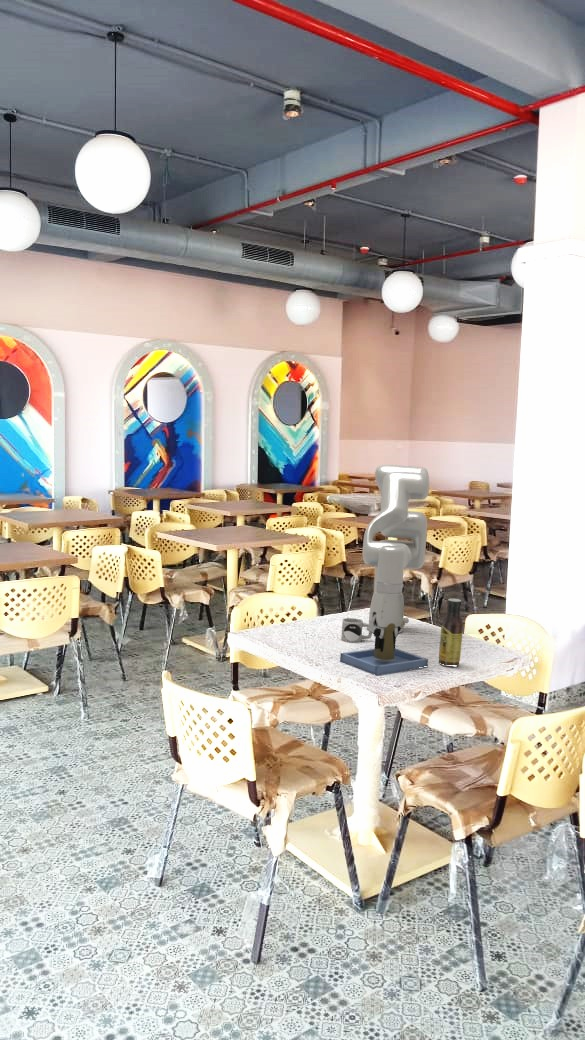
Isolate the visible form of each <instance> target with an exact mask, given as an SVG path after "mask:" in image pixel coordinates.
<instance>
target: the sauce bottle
mask: <svg viewBox="0 0 585 1040" xmlns="http://www.w3.org/2000/svg"><path fill="white" fill-rule="evenodd" d="M446 604H447V610H446V614H445V617H444V619H443V621H442V623H441V628H440V639H439V650H438V664H439V663H441V664H444V665H458V664H460V661H461V651H462V641H463V640H462V639H463V627H464V623H463V620H462V617H461V607H462V600H461V599H459V598H448V599H447V603H446ZM441 664H440V665H441ZM458 666H459V665H458Z"/></svg>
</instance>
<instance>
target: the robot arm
mask: <svg viewBox="0 0 585 1040" xmlns="http://www.w3.org/2000/svg"><path fill="white" fill-rule="evenodd" d="M374 477H375V483H376V484H377V487H378V489H379V493H380V497H381V499H380V512H379V514H377V515H376V516H375V517H373V519H372V520H371V521H370V522H369V523H368V524H367V526H366V529H365V532H364V534H363V540H362V541H363V543H362V552H361V553H362V560H363V562H364V563H363V564H365V565H367V566H370V567H374V583H373V593H372V594H373V595H372V598H371V601H370V602H371V603H370V607H369V613H368V614H369V615H368V624H369V625H368V627H366V628H367V630H368V631H369V630H370V631H371V632H372V635H373V636H374V637H375V638H374V649H375V650H376V649H379V648H380V651H381V652H383V648H384V638H383V634H384V628H386V627H387V626H388V625H389V624H391V623H393V624H395V630H394V631H393V642H394V650H395V648H396V641H397V637H398V636H399V634H400V633H403V632H404V627H405V625H406V624H408V623H409V622H410V620H409V618H408V617H404V615H405V614H404V613H405V609H404V608H405V603H404V601H405V600H404V593H403V588H404V569H406V570H420V569H421V568H423V566H424V564H425V558H426V550H427V549H426V546H427V535H428V533H427V531H428V520H427V516H426V515H425V513H423V512H421V511H414V510H413V511H412V510H409V502H410V501H409V500H420V501H422V500H426V498H427V497H428V495H429V491H430V476H429V471H428V469H427V468H426V467H423V466H410V465H397V464H395V465H394V464H382V465H379V466H378V467H376V469H375V472H374ZM379 532H380V533H381V535H382V536H384V537H386V538H394V539H383V540H382V539H381V540H379V541H378V540H376V541H375V540H374V536H376V535H377V533H379ZM398 539H405V540H398ZM406 539H407V540H406ZM409 540H411V541H409ZM378 629H380V632H379V630H378Z"/></svg>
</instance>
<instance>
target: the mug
mask: <svg viewBox="0 0 585 1040" xmlns="http://www.w3.org/2000/svg"><path fill="white" fill-rule="evenodd" d="M341 621H342V625H341V637H340V638H341V640H340V641H342V642H345V643H351V644H356V643H357V644H359V643H361V642H362V641H363V640H368V639H371V638H372V636H373V633H372V632H371V631H370V630H368V635H365V634H364V635H363V628H367V627H368V625H369V623H366V622H364V621H363V620H362V619H359V618H355V617H354V618H352V617H349V618H348V617H347V618H343V619H342V620H341Z"/></svg>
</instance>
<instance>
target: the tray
mask: <svg viewBox="0 0 585 1040" xmlns="http://www.w3.org/2000/svg"><path fill="white" fill-rule="evenodd" d="M374 652H375V648H372V649H371V648H370V649H364V650H355V651H348V652H342V653H339V654H340V657H339V662H341V663H343V664H346V665H348V666H351V667H353V668H356V669H358V670H361V671H364V672H367V673H370V674H372V675H374V674H375V676H381V674H383V675H388V673H389V674H394V673H395V672H396V673H401V672H400V671H402V672H406V671H405V670H408V671H411V670H410V669H414V668H419V667H424V666H428V665H429V658H426V657H422V656H420V655H416V654H413V653H410V652H407V651H404V650H402V649H398V648H396V647H395V650H394V659H392V660H382V659H377V658H375V657H374ZM428 667H429V666H428ZM414 670H415V669H414Z"/></svg>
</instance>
